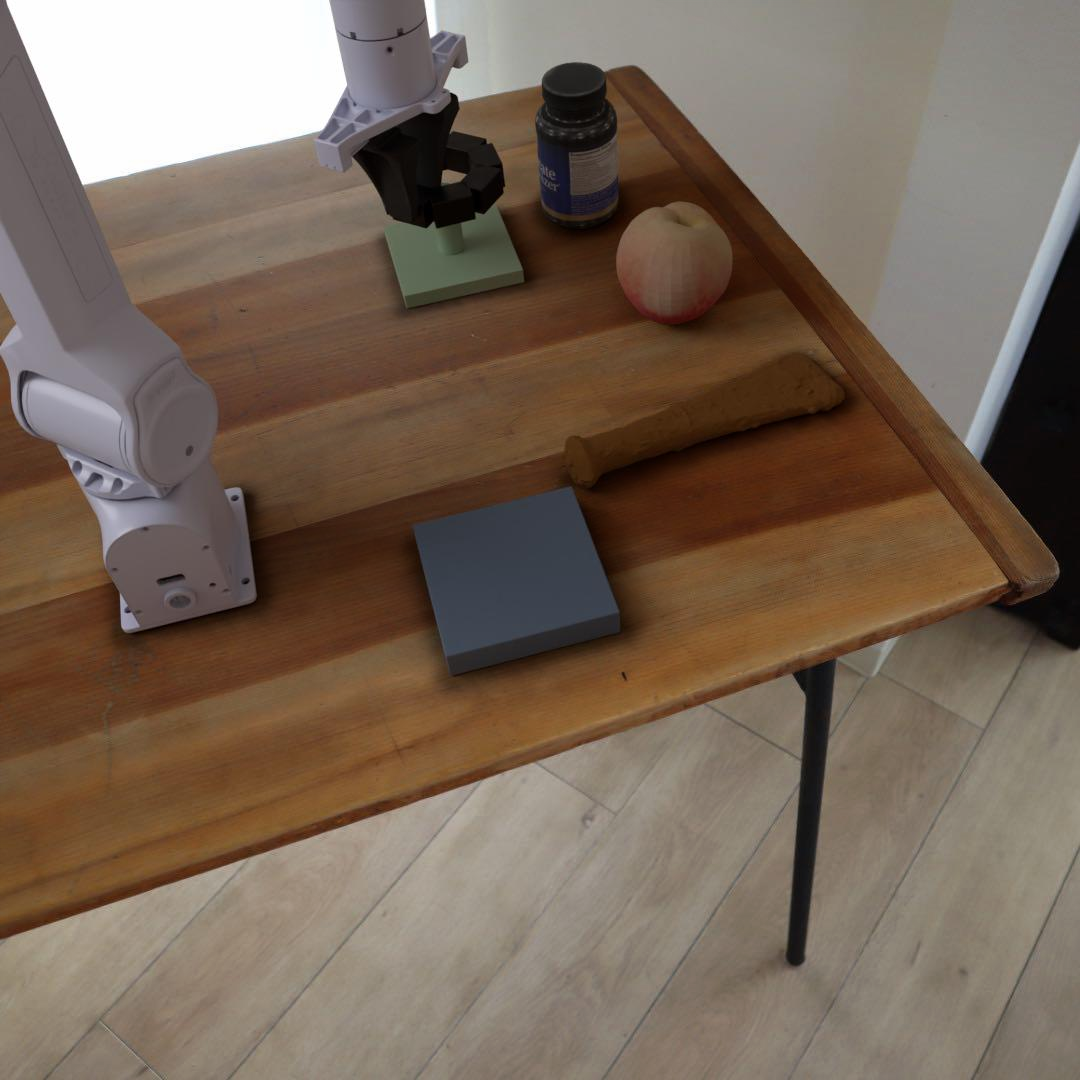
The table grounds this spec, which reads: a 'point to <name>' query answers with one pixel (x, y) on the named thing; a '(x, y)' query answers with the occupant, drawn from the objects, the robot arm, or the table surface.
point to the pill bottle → (577, 146)
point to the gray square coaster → (515, 580)
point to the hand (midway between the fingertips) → (414, 206)
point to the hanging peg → (453, 258)
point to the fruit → (674, 262)
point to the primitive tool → (707, 417)
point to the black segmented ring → (462, 184)
